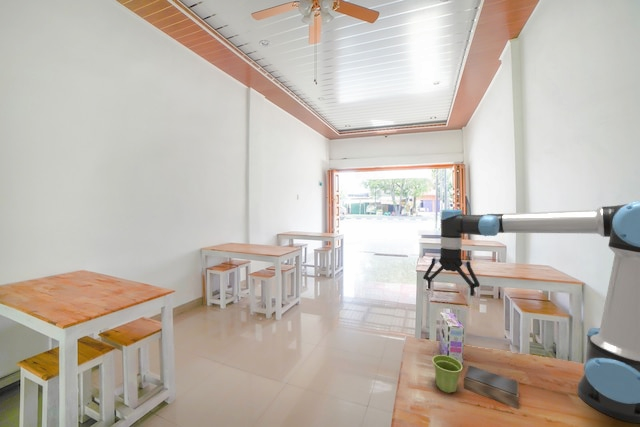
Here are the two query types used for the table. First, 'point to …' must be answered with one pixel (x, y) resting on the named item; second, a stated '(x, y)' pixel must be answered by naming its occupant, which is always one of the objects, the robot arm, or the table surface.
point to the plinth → (492, 385)
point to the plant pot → (447, 372)
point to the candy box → (451, 336)
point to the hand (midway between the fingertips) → (449, 300)
